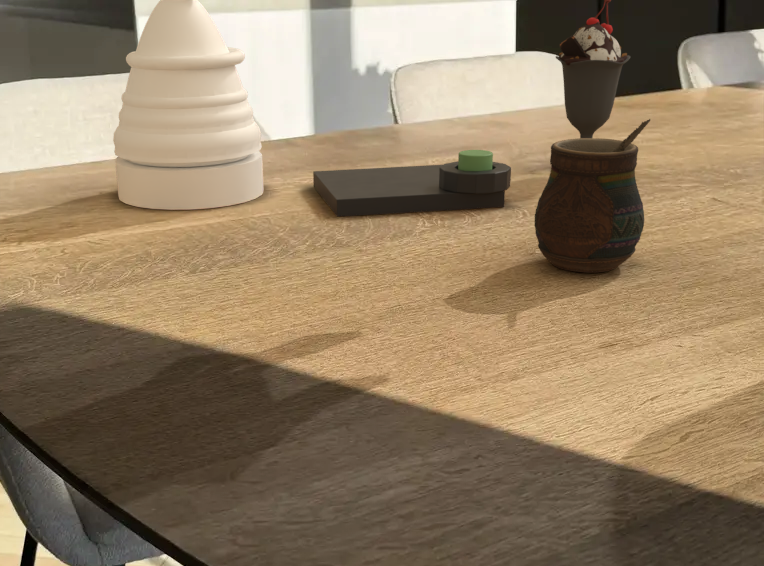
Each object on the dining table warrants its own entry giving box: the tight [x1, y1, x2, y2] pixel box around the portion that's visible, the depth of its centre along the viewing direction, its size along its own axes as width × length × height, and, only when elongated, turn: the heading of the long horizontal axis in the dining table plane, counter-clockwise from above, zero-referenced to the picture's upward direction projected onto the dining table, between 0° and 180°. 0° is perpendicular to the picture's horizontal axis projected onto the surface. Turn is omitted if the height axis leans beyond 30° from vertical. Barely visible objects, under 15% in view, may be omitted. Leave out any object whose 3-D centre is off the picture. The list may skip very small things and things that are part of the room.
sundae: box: [555, 0, 631, 138], centre depth 102 cm, size 7×7×15 cm
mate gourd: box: [534, 118, 651, 274], centre depth 74 cm, size 7×8×10 cm
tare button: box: [457, 149, 494, 171], centre depth 92 cm, size 3×3×2 cm
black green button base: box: [312, 161, 512, 218], centre depth 95 cm, size 15×13×3 cm
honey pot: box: [112, 0, 265, 211], centre depth 95 cm, size 13×13×18 cm
